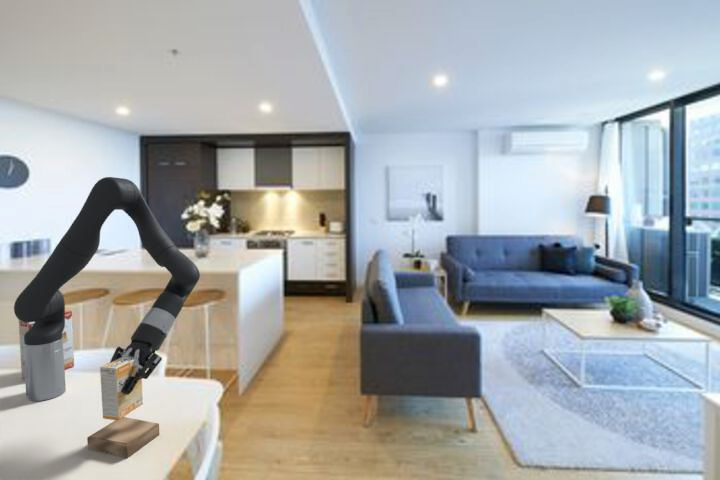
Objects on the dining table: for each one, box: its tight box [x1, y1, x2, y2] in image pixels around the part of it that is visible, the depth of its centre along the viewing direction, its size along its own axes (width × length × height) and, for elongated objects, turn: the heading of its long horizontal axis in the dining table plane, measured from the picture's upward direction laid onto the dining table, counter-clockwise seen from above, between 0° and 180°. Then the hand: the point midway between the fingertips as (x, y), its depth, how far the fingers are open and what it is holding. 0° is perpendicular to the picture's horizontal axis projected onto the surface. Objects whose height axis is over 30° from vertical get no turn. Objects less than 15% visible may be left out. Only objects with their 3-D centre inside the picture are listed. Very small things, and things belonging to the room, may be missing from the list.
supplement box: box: [99, 356, 144, 421], centre depth 101 cm, size 8×5×13 cm, turn 168°
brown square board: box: [86, 416, 160, 459], centre depth 102 cm, size 12×10×3 cm
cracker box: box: [18, 309, 75, 380], centre depth 141 cm, size 14×6×21 cm, turn 158°
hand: (116, 391), depth 99 cm, fingers closed on supplement box, 5 cm apart
